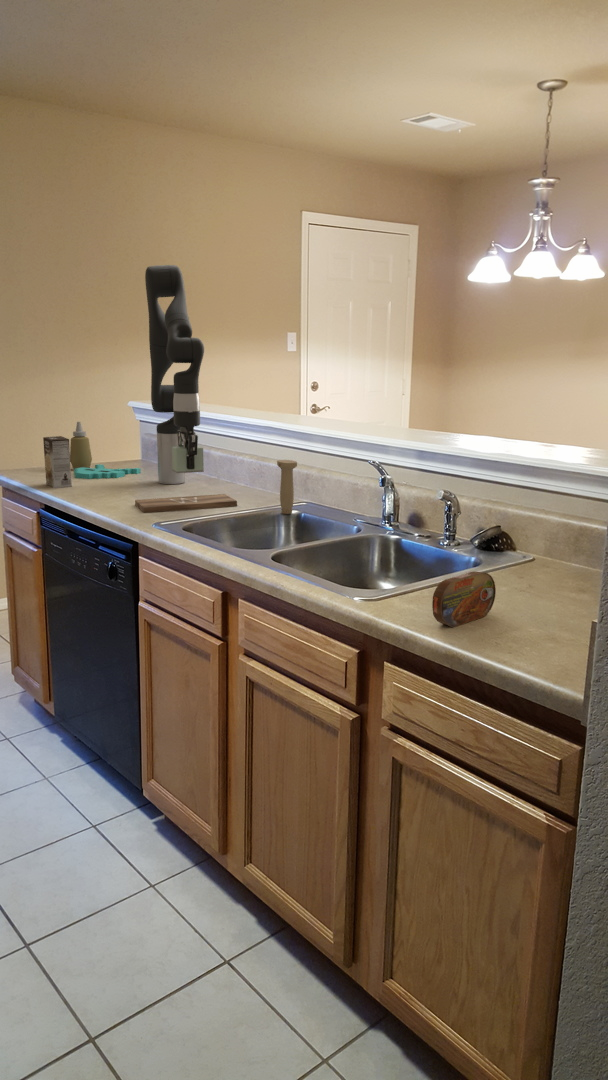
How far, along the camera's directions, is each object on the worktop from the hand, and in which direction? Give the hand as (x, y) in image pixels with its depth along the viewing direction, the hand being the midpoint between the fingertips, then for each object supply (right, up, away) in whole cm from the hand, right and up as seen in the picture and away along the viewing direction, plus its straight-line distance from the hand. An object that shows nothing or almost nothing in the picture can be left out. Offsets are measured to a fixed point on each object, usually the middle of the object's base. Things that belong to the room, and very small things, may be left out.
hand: (188, 467), depth 235 cm
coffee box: (-49, -3, +36) cm, 61 cm away
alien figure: (-40, +2, +59) cm, 71 cm away
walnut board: (-1, -11, +5) cm, 12 cm away
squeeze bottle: (-50, +5, +69) cm, 86 cm away
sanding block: (0, -1, 0) cm, 1 cm away
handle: (+29, -14, -4) cm, 32 cm away
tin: (+62, -36, -92) cm, 116 cm away
